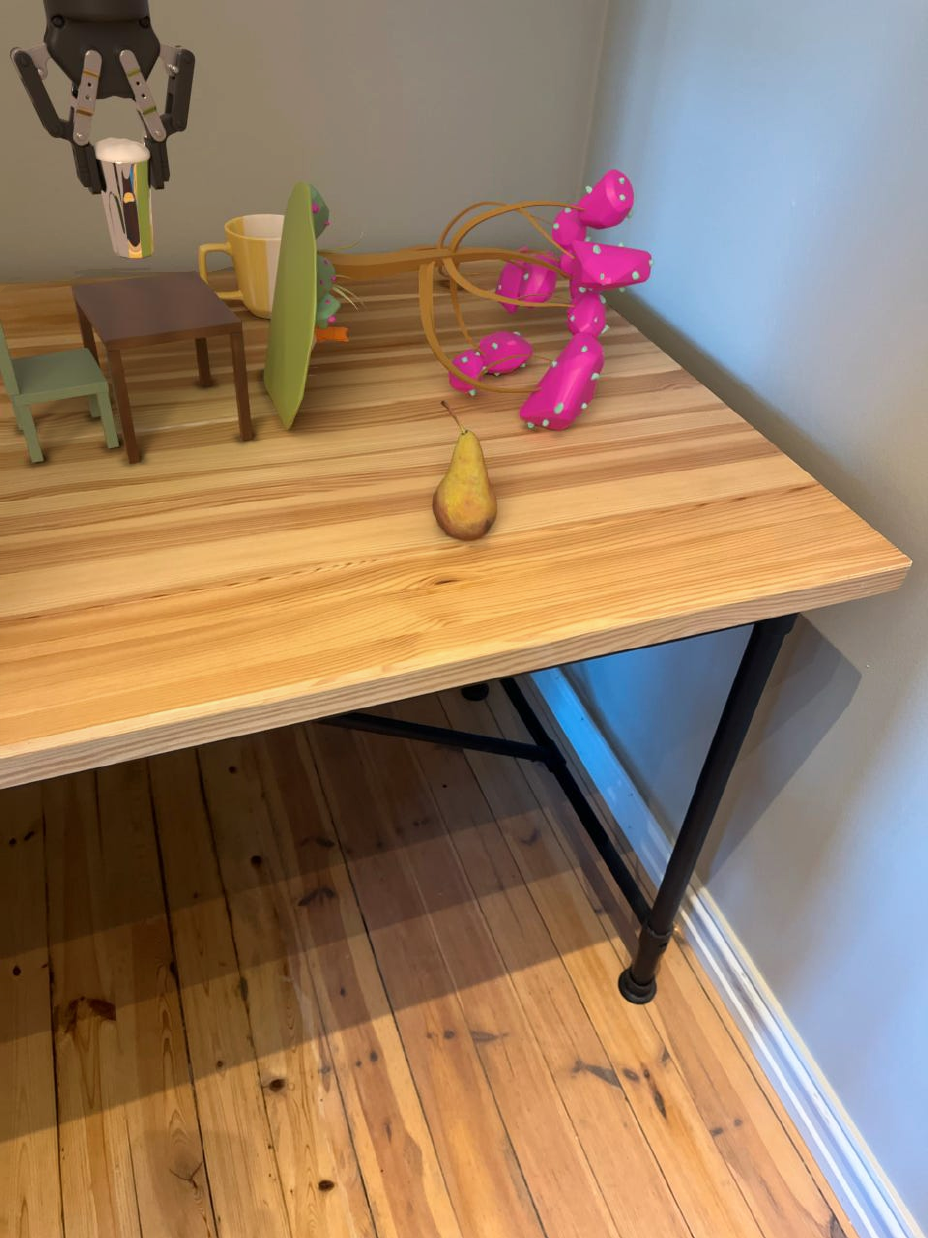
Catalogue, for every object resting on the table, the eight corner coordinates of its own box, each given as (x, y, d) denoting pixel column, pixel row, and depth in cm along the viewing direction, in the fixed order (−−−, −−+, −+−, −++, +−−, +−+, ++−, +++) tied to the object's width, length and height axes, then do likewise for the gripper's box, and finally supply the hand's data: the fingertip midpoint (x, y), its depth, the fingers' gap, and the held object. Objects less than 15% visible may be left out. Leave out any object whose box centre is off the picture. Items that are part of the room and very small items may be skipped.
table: (129, 464, 85) (105, 340, 78) (95, 401, 95) (70, 285, 87) (253, 439, 90) (242, 321, 83) (209, 382, 100) (195, 270, 92)
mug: (310, 295, 121) (306, 211, 114) (319, 325, 113) (316, 238, 107) (203, 298, 118) (193, 212, 111) (206, 329, 110) (195, 239, 104)
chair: (25, 465, 84) (-27, 275, 73) (11, 426, 89) (-40, 244, 78) (120, 446, 87) (84, 263, 76) (101, 410, 92) (64, 234, 81)
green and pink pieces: (282, 55, 86) (617, 121, 97) (258, 312, 108) (533, 343, 118) (307, 239, 69) (710, 294, 80) (272, 499, 91) (591, 515, 101)
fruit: (451, 558, 77) (459, 430, 69) (420, 524, 81) (425, 398, 73) (507, 543, 79) (521, 417, 72) (475, 510, 83) (485, 387, 75)
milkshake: (179, 252, 82) (166, 127, 75) (132, 265, 78) (115, 135, 72) (143, 240, 83) (127, 117, 77) (95, 252, 80) (75, 124, 73)
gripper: (170, -62, 72) (196, 172, 83) (-29, -70, 66) (28, 184, 77) (199, -53, 67) (223, 195, 78) (-13, -61, 61) (45, 209, 72)
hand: (126, 188), depth 77 cm, fingers closed on milkshake, 4 cm apart
